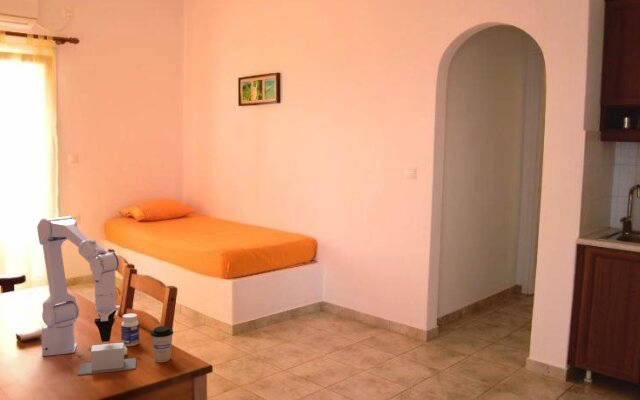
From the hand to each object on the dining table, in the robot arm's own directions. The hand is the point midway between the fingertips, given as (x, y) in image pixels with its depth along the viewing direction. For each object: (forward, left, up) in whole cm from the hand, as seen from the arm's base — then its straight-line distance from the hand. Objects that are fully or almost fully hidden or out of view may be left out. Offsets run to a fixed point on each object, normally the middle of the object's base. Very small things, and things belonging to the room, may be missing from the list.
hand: (106, 336), depth 163 cm
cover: (0, -1, -9) cm, 9 cm away
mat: (0, -1, -9) cm, 9 cm away
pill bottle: (+6, +18, -10) cm, 21 cm away
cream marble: (+4, +8, -9) cm, 13 cm away
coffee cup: (+16, +1, -10) cm, 19 cm away
